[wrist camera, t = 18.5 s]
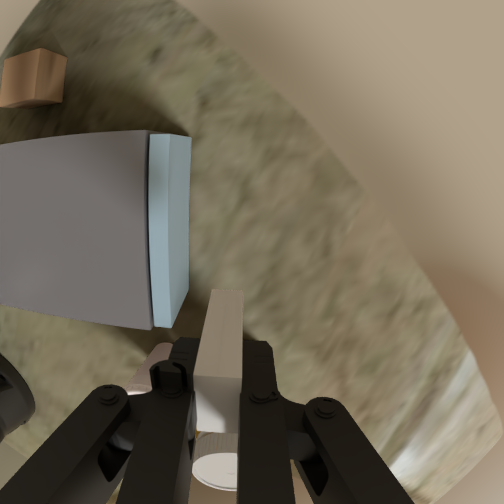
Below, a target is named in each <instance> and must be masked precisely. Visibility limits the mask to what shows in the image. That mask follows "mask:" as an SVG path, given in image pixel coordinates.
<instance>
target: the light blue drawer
mask: <svg viewBox="0 0 504 504" xmlns="http://www.w3.org/2000/svg"><path fill="white" fill-rule="evenodd" d="M191 140H192V137H186V136H180V135H174V134H150V149H149V182H148V189H149V247H150V250H149V253H150V274H151V287H152V302H153V315H154V326H156V327H165V328H172V326H173V324H174V321H175V319H176V317H177V315H178V312H179V310H180V308H181V306H182V303H183V301H184V299H185V297H186V295H187V292H188V290H189V190H190V161H191Z"/></svg>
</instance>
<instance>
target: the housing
mask: <svg viewBox="0 0 504 504" xmlns="http://www.w3.org/2000/svg"><path fill="white" fill-rule="evenodd" d="M150 134H170V133H164V132H157V131H150V130H130V131H111V132H97V133H85V134H74V135H64V136H56V137H47V138H40V139H32V140H26V141H19V142H13V143H7V144H1V145H0V304H1V305H6V306H10V307H14V308H19V309H24V310H28V311H33V312H38V313H43V314H48V315H53V316H59V317H64V318H70V319H76V320H82V321H88V322H94V323H100V324H107V325H114V326H121V327H128V328H135V329H143V330H151V329H152V327H153V325H154V315H153V302H152V287H151V274H150V253H149V213H148V182H149V149H150Z"/></svg>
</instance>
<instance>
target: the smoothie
mask: <svg viewBox="0 0 504 504" xmlns="http://www.w3.org/2000/svg"><path fill="white" fill-rule="evenodd" d="M172 346H173V344H171V343H160V344H158V345H156V346H155V348H154V349H153V350H152V352H151V353H150V354H149V356H148V357H147V358H146V360H145V361H144V363H143V364H142V365H141V367H140V368H139V369H138V371H137V372H136V373H135V375H134V376H133V378H132V379H131V380H130V381H129V383H128V384H127V385H126V386H124V387H123V388H124V389H125V391H126V392H127V393H128V395H134V394H142V393H147V392H149V391H151V390H152V386H151V379H150V373H149V369H150V368H151V366H152V365H153V364H155V363H157V362H159V361H163V360H168V357H169V354H170V353H171V348H172Z"/></svg>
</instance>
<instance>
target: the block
mask: <svg viewBox="0 0 504 504" xmlns="http://www.w3.org/2000/svg"><path fill="white" fill-rule="evenodd" d="M66 63H67V57H64V56H62V55H59V54H57V53H54V52H51V51H49V50H46V49H43V48H38V49H35V50H31V51H28V52H25V53H22V54H19V55H16V56H13V57H11V58H8V59H5V62H4V68H3V75H2V83H1V91H0V107H7V108H23V109H30V108H35V107H40V106H45V105H50V104H56V103H62V100H63V89H64V79H65V71H66Z"/></svg>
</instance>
